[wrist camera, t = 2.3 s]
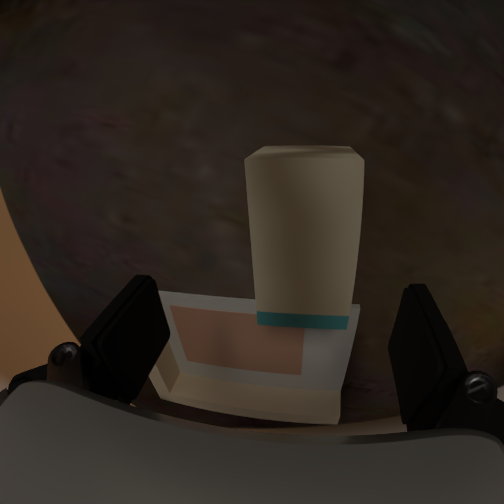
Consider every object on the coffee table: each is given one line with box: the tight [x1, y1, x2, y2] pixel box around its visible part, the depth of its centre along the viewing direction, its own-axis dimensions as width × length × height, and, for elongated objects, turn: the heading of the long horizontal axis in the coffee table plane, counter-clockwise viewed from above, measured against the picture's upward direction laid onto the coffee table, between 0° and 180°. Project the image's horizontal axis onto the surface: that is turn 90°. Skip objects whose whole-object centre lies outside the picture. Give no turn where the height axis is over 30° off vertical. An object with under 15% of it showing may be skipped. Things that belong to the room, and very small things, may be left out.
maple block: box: [244, 146, 364, 330], centre depth 15 cm, size 5×9×5 cm, turn 4°
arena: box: [149, 291, 360, 424], centre depth 23 cm, size 18×12×4 cm, turn 94°
